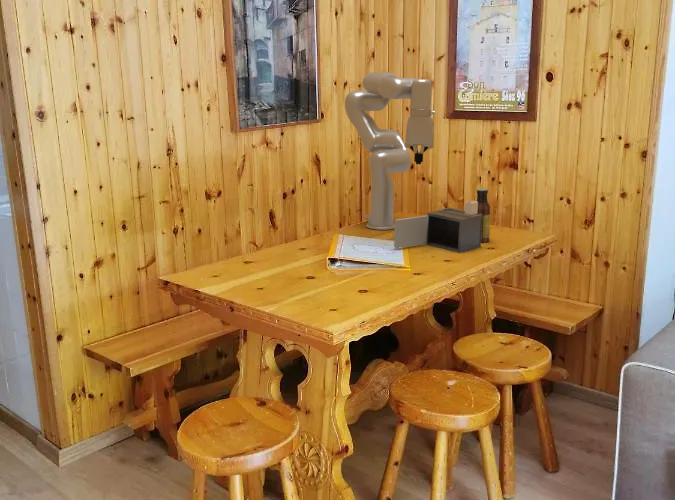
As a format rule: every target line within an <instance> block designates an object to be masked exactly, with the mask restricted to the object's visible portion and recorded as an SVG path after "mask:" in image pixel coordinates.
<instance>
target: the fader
mask: <svg viewBox="0 0 675 500" xmlns="http://www.w3.org/2000/svg"><path fill="white" fill-rule="evenodd" d="M464 211H465V214H467V215H475V214H477V211H478V202H477V199H472V200H468V201H465V203H464Z"/></svg>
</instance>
